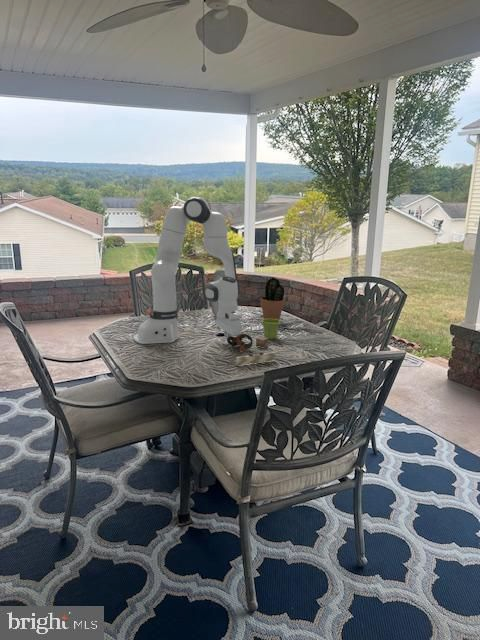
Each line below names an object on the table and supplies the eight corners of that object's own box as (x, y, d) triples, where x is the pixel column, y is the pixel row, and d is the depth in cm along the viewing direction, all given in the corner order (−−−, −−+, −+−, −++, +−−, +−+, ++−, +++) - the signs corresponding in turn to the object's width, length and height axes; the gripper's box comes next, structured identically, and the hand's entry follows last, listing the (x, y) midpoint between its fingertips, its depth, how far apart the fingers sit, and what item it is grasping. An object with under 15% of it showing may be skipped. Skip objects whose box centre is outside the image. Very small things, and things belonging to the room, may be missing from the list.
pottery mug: (249, 346, 217) (254, 334, 212) (248, 360, 210) (254, 348, 204) (225, 340, 215) (229, 327, 210) (223, 354, 208) (228, 342, 203)
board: (237, 367, 188) (238, 356, 186) (235, 365, 189) (236, 355, 188) (275, 361, 195) (275, 351, 194) (273, 360, 197) (273, 350, 196)
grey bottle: (219, 313, 274) (219, 267, 267) (232, 316, 268) (233, 269, 261) (208, 316, 267) (208, 269, 260) (220, 319, 261) (221, 271, 253)
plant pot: (257, 338, 228) (258, 321, 226) (265, 333, 236) (266, 317, 234) (275, 341, 224) (275, 324, 222) (282, 336, 232) (283, 320, 230)
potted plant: (257, 322, 257) (258, 278, 251) (262, 316, 270) (264, 275, 263) (280, 324, 253) (283, 280, 247) (285, 319, 266) (287, 276, 259)
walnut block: (262, 348, 213) (262, 340, 212) (255, 346, 216) (256, 338, 215) (267, 346, 216) (268, 338, 215) (261, 344, 218) (261, 336, 217)
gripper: (213, 307, 221) (212, 334, 224) (231, 317, 203) (230, 346, 207) (225, 306, 223) (224, 333, 227) (243, 316, 206) (242, 345, 209)
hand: (227, 339), depth 217 cm, fingers closed
